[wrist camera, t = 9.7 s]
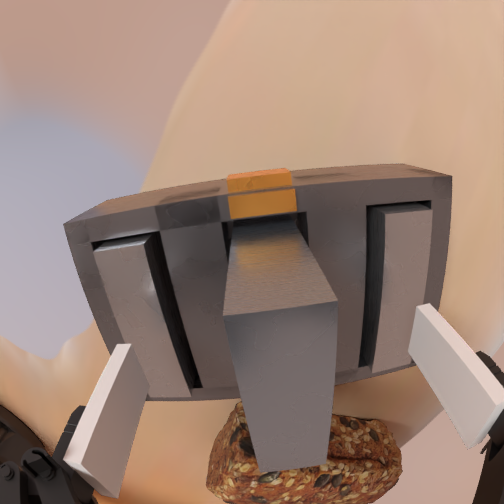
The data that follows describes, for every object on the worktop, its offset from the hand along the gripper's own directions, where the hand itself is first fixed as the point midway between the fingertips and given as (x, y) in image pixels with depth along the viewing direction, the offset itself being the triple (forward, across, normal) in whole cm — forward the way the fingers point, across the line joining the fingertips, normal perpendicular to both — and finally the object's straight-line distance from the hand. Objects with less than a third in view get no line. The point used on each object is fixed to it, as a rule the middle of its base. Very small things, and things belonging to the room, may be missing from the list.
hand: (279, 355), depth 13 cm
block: (+6, 0, 0) cm, 6 cm away
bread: (+10, +2, -21) cm, 24 cm away
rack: (+9, 0, 0) cm, 9 cm away
